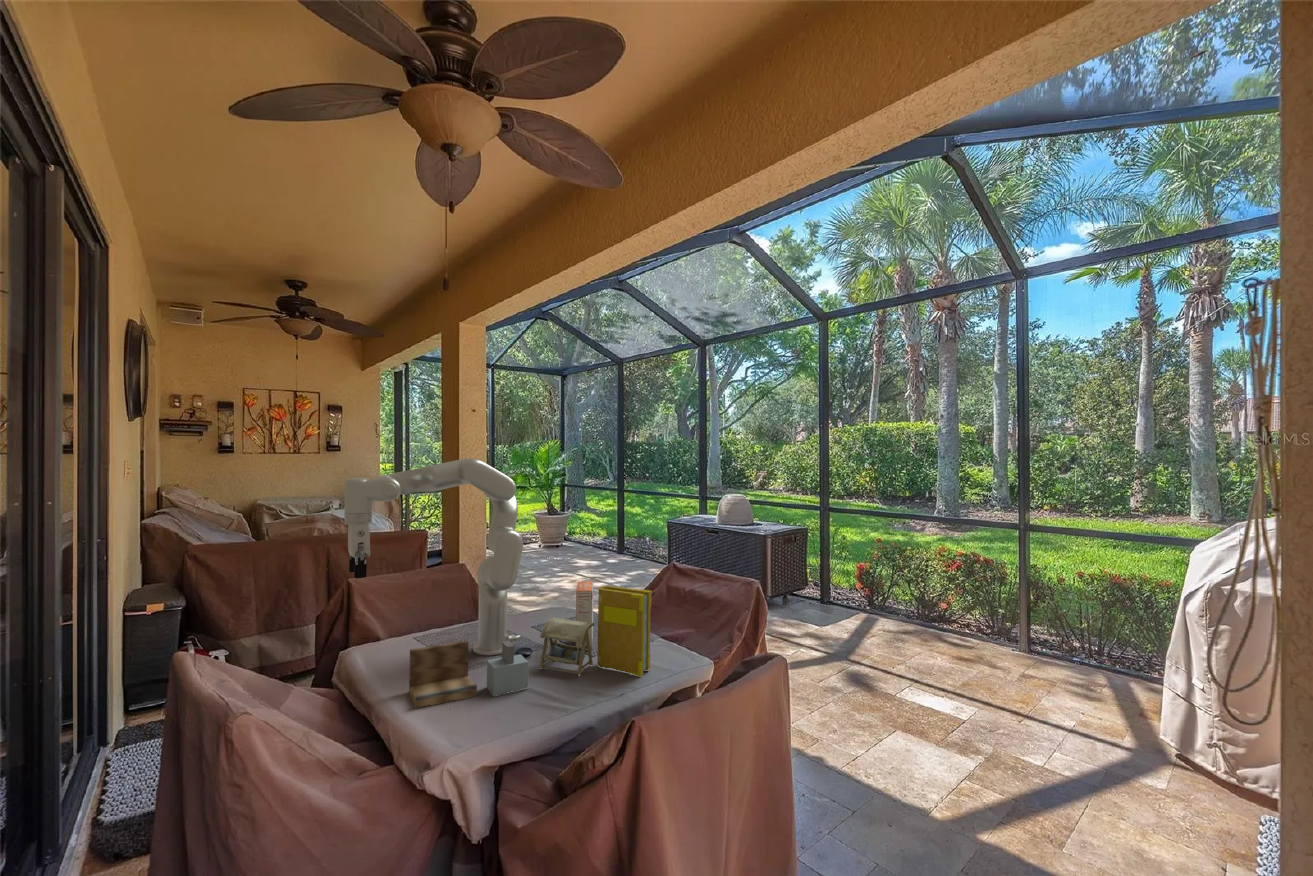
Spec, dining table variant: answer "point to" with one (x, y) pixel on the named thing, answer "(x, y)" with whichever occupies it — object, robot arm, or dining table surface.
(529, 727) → the dining table surface
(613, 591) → the book
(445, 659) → the cleat board
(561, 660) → the swing bench
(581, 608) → the cracker box
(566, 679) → the dining table surface
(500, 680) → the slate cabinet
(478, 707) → the dining table surface
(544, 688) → the dining table surface
